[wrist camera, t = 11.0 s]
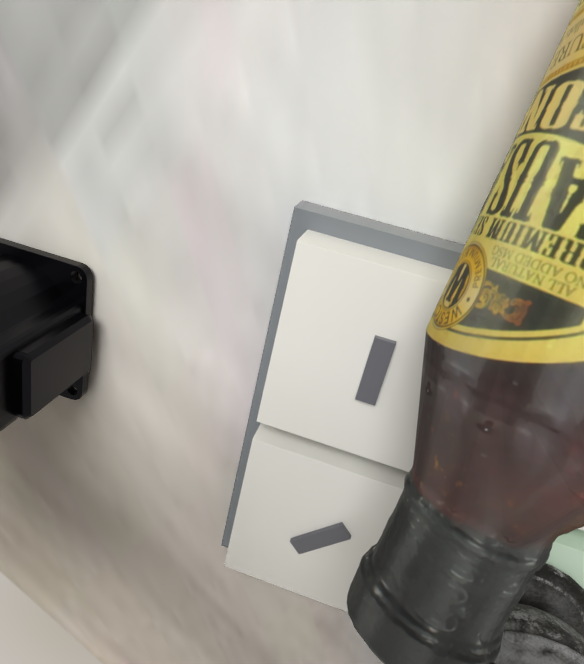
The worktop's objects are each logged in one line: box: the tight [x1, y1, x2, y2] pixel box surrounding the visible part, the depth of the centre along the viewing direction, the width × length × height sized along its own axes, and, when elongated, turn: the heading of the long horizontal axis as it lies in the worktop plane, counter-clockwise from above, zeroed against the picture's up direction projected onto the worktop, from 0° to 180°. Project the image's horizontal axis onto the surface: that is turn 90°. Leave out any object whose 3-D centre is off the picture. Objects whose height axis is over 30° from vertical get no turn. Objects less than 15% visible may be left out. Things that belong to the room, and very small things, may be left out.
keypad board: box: [222, 201, 584, 612], centre depth 20 cm, size 16×16×3 cm
